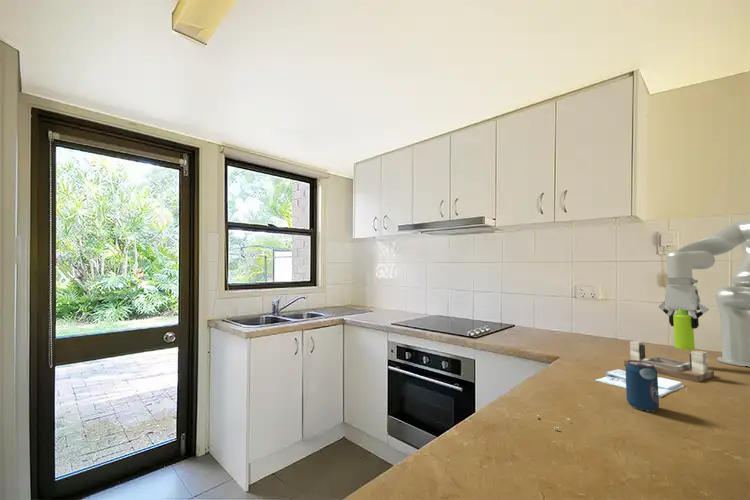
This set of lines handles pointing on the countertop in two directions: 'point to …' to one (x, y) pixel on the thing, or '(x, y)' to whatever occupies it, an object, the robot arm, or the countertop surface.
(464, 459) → the countertop surface
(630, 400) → the soda can
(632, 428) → the countertop surface
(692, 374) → the rail
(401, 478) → the countertop surface
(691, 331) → the soap dispenser
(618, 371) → the folded white towel
